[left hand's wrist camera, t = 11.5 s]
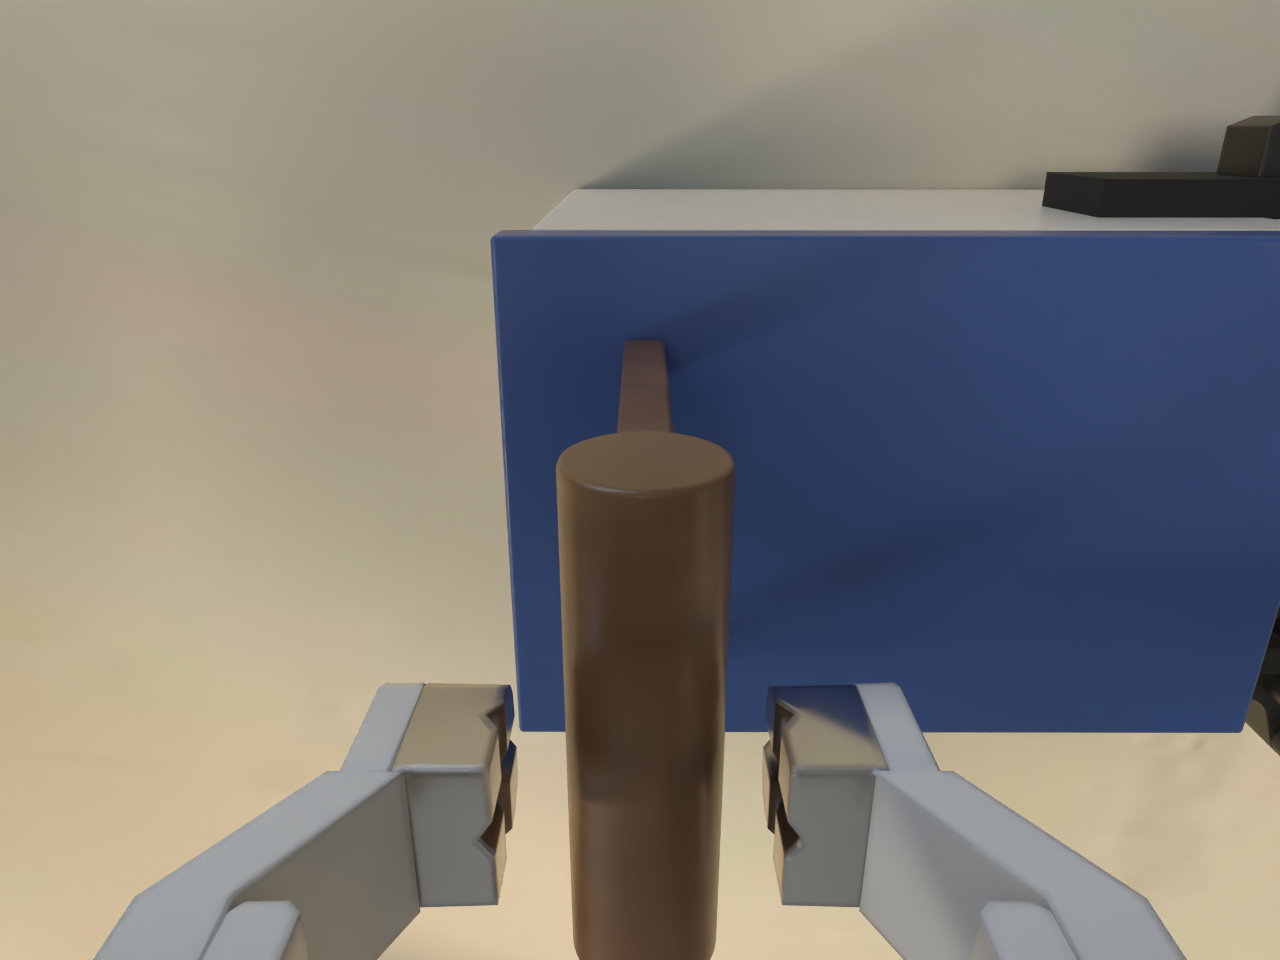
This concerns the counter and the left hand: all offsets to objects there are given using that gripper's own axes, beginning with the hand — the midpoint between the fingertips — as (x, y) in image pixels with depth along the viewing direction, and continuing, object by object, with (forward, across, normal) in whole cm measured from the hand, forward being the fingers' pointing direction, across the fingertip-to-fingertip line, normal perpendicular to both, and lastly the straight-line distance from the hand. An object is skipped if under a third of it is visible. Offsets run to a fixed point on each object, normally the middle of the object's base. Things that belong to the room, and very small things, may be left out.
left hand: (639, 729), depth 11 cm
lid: (+7, -5, 0) cm, 9 cm away
